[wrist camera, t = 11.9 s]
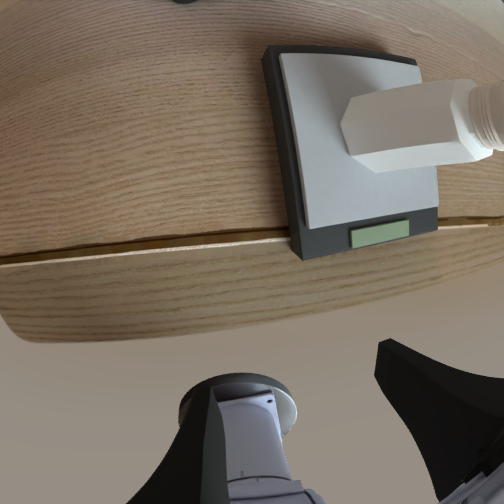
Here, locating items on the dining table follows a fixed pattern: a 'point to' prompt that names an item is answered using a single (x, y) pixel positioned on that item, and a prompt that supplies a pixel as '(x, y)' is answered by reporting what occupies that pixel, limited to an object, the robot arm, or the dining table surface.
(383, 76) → the scale
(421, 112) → the pepper shaker
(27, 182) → the dining table surface
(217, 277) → the dining table surface
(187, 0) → the phone
